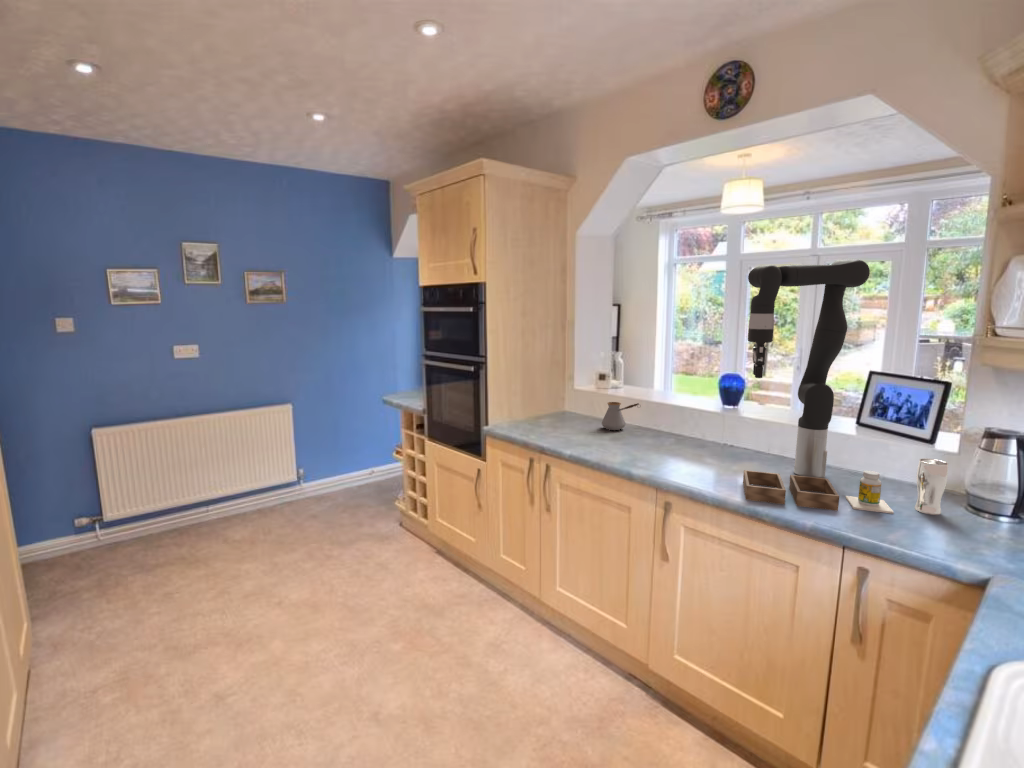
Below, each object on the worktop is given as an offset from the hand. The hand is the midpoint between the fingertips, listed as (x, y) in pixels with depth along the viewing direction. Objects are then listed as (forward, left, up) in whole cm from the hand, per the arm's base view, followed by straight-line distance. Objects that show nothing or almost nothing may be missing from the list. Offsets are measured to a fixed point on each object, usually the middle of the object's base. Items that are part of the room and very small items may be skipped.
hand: (757, 376), depth 176 cm
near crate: (-17, +12, -36) cm, 42 cm away
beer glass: (-47, +11, -36) cm, 60 cm away
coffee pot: (+53, -56, -36) cm, 86 cm away
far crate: (-3, +12, -36) cm, 38 cm away
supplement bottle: (-32, +12, -36) cm, 49 cm away
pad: (-32, +12, -36) cm, 50 cm away
